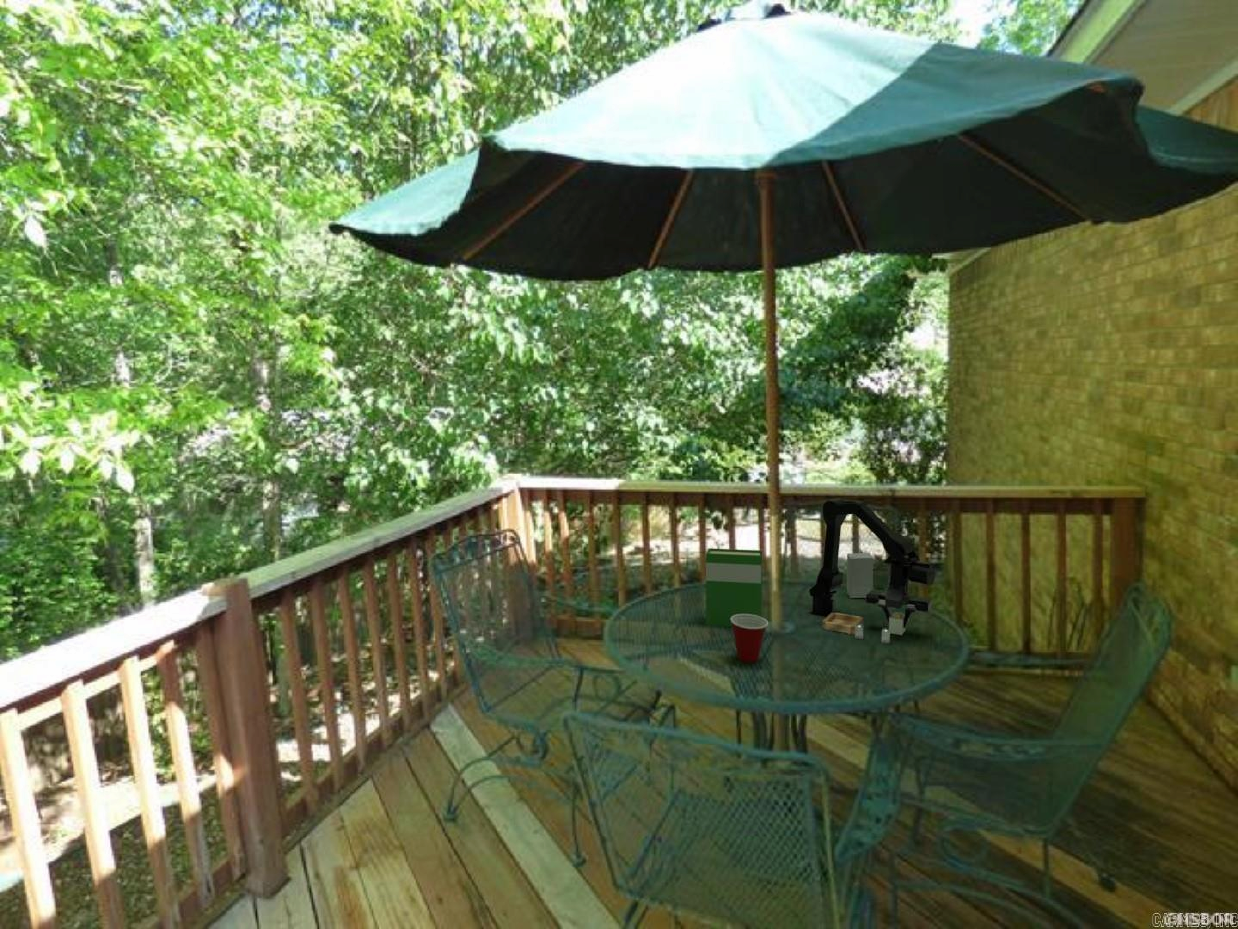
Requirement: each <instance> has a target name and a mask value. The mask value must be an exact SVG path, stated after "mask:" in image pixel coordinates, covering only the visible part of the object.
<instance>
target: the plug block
mask: <svg viewBox="0 0 1238 929" xmlns="http://www.w3.org/2000/svg"><path fill="white" fill-rule="evenodd" d="M904 617H905V614H904V613H903V611H902V612H900V611H894V612H893V613H892V615H891V616H890V617H889V624H888V629H890V634H893V635H899V636H903V635H904V633H905V631H906V627H905V628H903V624H904Z"/></svg>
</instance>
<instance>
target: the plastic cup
mask: <svg viewBox="0 0 1238 929" xmlns="http://www.w3.org/2000/svg"><path fill="white" fill-rule="evenodd" d="M730 619H731V622H732V626H733V627H732V631H733V636H734V637H733V638H734V644H735V645H734V646H735V648H736V654H737V659H738V660H739V661H740V662H742V663H748V664H750V663H756V662H758V660H759V658H760V652H761V649H762V643H763V638H764V635H765V634H764V633H765V631H766V628H767V627H768V624H769V622H768V620H767V619H766V618H764V617H762V616H761V617H760V616H757V615H751V614H737V615H734V616H732V617H731V618H730Z"/></svg>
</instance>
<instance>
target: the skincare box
mask: <svg viewBox="0 0 1238 929" xmlns="http://www.w3.org/2000/svg"><path fill="white" fill-rule="evenodd" d="M846 554H847V555H846V594H847V596H848V595H849V596H848V598H849V597H850V598H859V597H864V598H866V595H867V594H868V593H869V592H870V591H871V590H874V589H873V588H874V587H873V586H874V585H873V582H874V580H873V578H874V576H873V575H874V557H873V556H872V555H871V553H870V552H861V553H859V552H857V553H855V552H854V553H852V552H851V553H849V552H847V553H846ZM850 598H849V599H850Z"/></svg>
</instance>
